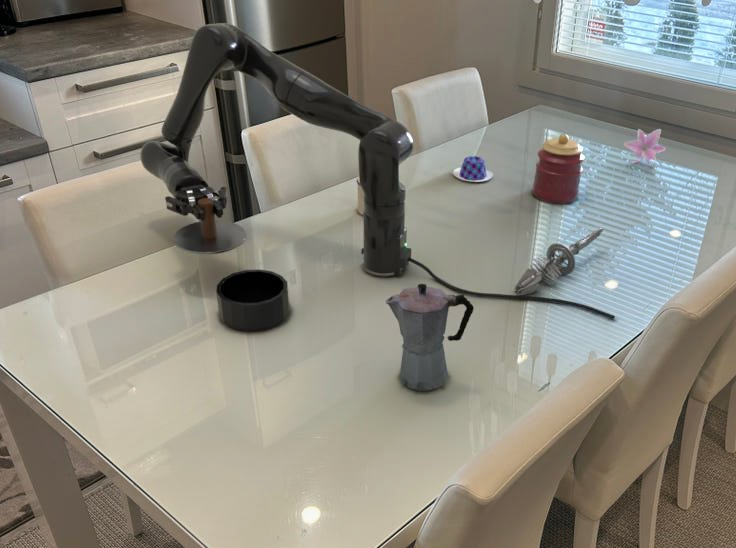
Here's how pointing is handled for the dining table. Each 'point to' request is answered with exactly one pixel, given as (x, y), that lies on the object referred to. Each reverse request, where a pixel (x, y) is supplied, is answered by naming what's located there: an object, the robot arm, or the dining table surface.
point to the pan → (253, 300)
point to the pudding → (473, 170)
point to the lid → (209, 233)
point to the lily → (646, 145)
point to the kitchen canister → (558, 170)
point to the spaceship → (553, 264)
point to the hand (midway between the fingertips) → (211, 215)
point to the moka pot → (425, 333)
